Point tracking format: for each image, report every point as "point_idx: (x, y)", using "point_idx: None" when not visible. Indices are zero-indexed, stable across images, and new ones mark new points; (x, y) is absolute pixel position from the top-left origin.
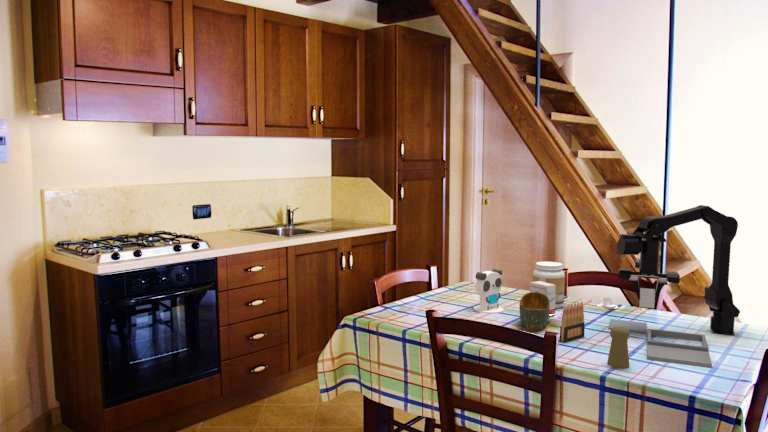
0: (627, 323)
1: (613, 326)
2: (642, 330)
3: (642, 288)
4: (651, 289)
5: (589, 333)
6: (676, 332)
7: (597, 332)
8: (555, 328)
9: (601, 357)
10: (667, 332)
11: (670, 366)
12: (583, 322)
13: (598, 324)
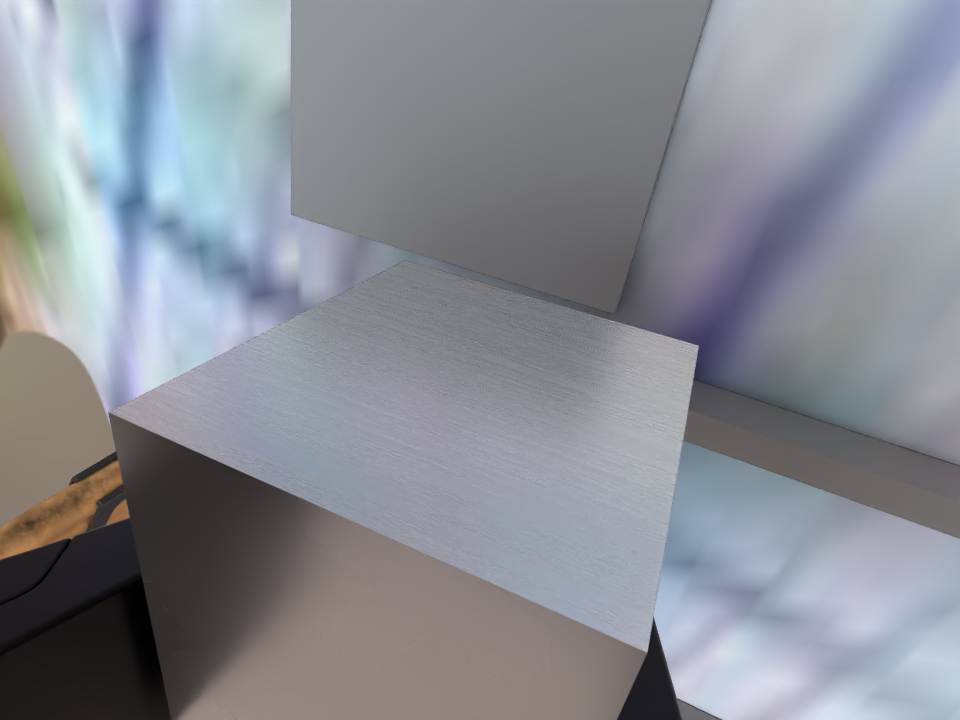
0: None
1: (329, 169)
2: (587, 273)
3: (179, 495)
4: (475, 674)
5: (203, 362)
6: (919, 522)
7: (241, 332)
8: (28, 270)
9: None
10: (807, 478)
11: None
12: (96, 508)
13: (218, 61)
